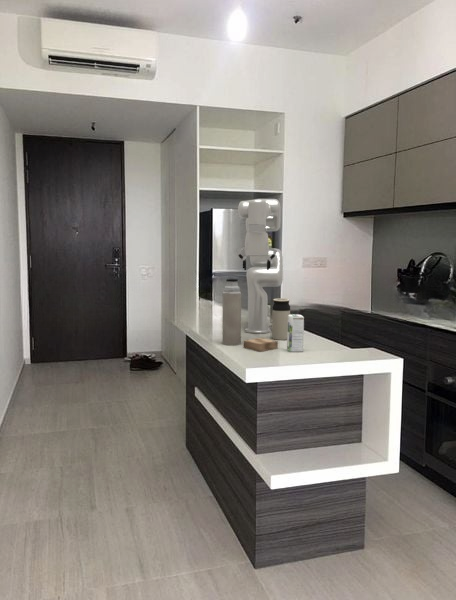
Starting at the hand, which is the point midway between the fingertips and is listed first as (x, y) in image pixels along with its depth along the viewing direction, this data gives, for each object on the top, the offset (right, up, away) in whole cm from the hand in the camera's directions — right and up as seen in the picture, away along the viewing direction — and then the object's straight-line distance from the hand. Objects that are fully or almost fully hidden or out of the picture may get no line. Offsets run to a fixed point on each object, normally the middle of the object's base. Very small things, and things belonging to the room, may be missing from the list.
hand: (256, 270), depth 227 cm
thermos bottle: (-10, -32, +4) cm, 34 cm away
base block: (+1, -33, -5) cm, 33 cm away
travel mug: (+12, -31, +16) cm, 37 cm away
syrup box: (+15, -34, -9) cm, 38 cm away
